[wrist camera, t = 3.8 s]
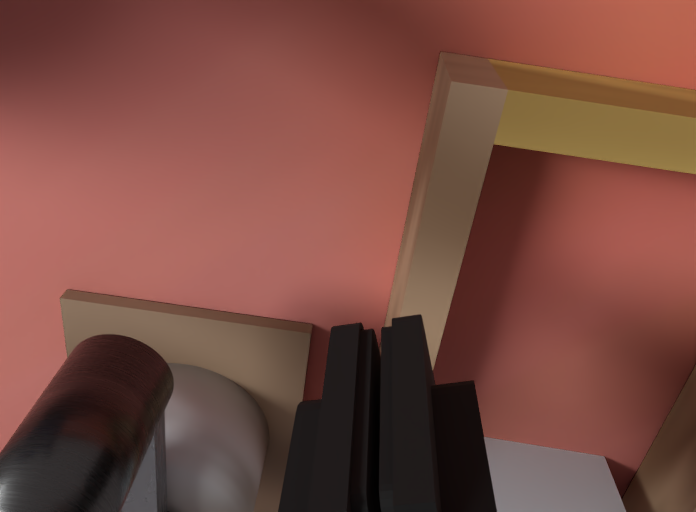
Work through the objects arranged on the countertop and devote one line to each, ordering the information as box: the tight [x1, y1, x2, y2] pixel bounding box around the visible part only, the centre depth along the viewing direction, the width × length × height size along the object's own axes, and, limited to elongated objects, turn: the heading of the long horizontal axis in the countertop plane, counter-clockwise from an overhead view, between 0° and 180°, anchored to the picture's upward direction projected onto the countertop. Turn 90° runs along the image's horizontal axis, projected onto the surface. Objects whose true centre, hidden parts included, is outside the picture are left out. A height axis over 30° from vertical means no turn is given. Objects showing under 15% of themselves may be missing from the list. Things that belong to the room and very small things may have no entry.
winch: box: [60, 290, 313, 512], centre depth 20 cm, size 10×8×4 cm
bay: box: [379, 51, 696, 512], centre depth 19 cm, size 20×11×3 cm, turn 172°
